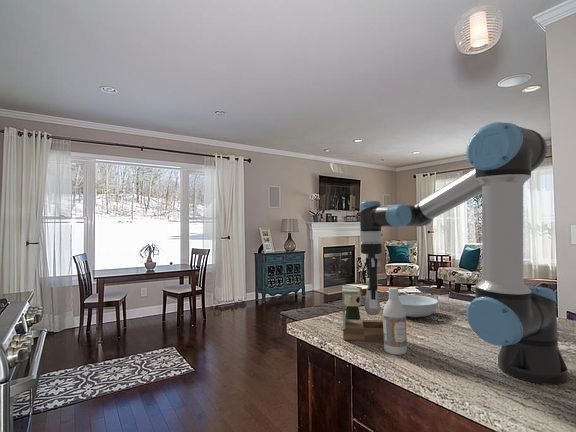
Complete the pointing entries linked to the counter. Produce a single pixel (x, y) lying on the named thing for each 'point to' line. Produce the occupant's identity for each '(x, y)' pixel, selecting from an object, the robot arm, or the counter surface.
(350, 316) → the character mug
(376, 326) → the socket station
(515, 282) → the robot arm
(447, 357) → the counter surface
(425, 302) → the serving bowl
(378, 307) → the salt shaker
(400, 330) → the bath foam
